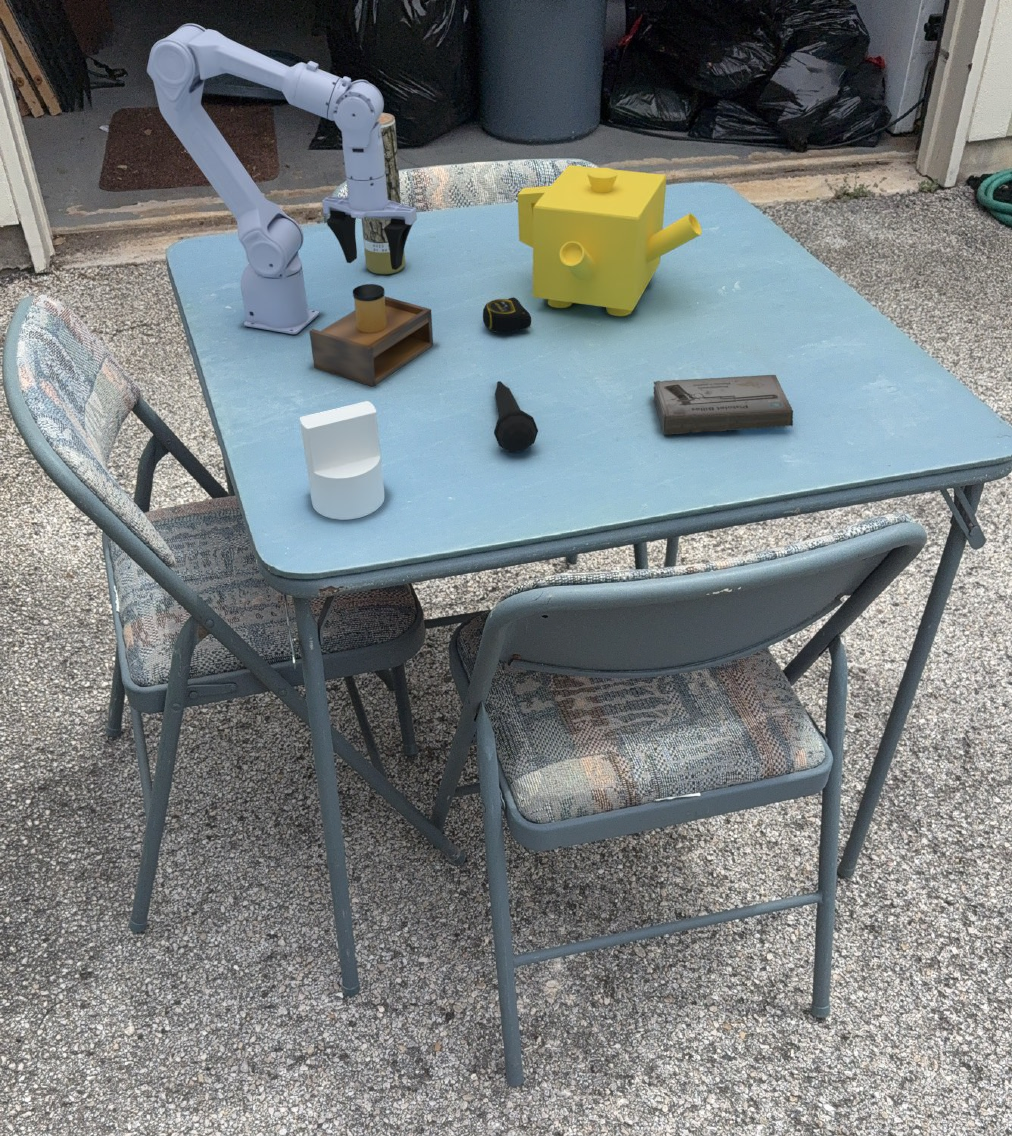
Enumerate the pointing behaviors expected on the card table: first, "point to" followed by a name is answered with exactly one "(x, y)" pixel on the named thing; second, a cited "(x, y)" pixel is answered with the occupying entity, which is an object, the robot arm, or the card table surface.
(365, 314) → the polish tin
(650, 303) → the card table surface
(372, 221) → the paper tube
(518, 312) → the tape measure
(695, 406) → the box
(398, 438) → the card table surface
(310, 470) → the base with upright slab
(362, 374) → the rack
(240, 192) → the robot arm
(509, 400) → the microphone
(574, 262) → the yellow cubic teapot
